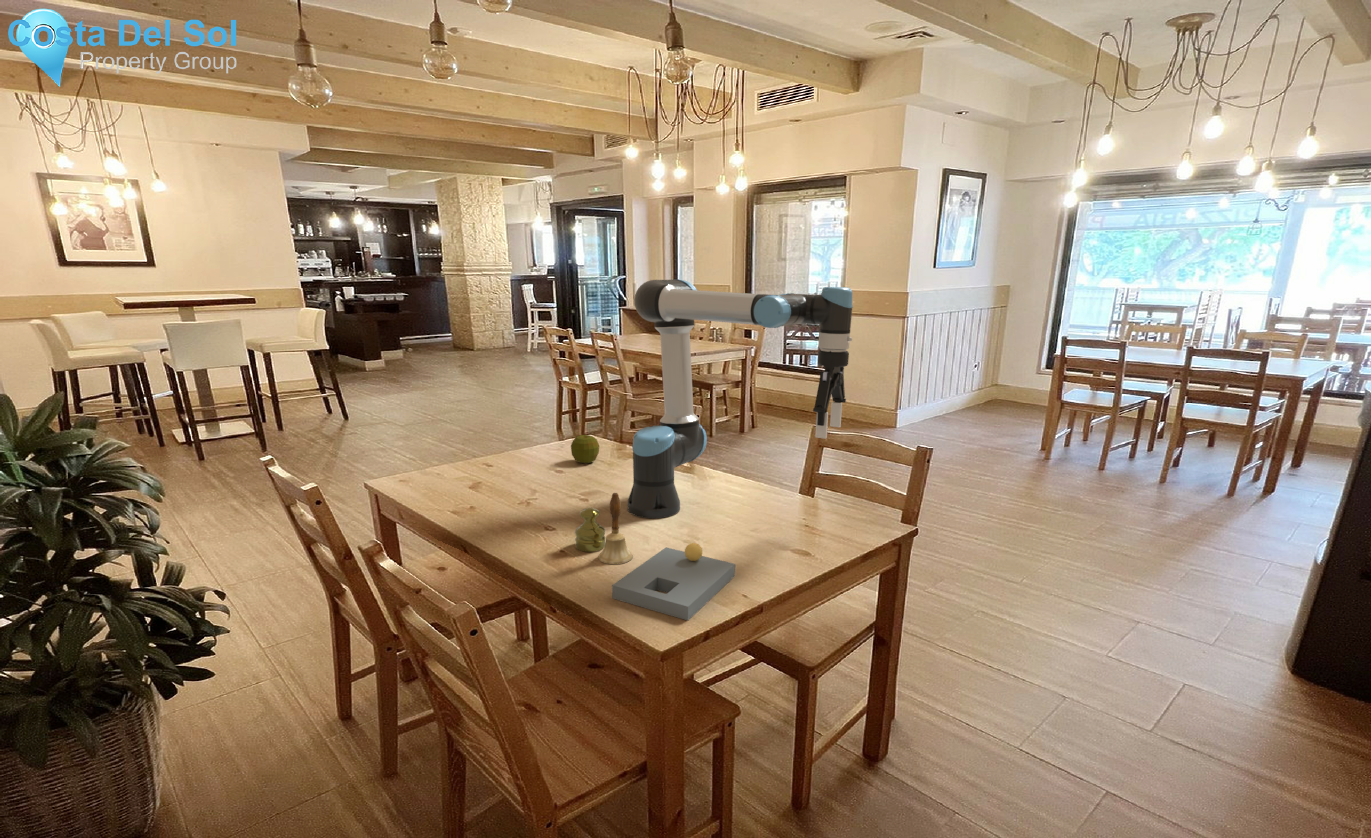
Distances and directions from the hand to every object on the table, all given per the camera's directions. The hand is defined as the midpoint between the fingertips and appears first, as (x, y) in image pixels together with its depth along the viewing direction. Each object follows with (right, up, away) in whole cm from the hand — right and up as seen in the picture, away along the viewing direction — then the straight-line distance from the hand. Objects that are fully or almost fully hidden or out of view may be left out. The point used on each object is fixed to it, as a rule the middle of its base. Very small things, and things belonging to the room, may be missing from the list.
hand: (828, 432), depth 167 cm
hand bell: (-54, -30, -12) cm, 63 cm away
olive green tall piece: (-60, -28, -6) cm, 67 cm away
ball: (-35, -29, -20) cm, 50 cm away
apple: (-73, -12, +65) cm, 98 cm away
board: (-39, -33, -27) cm, 58 cm away
